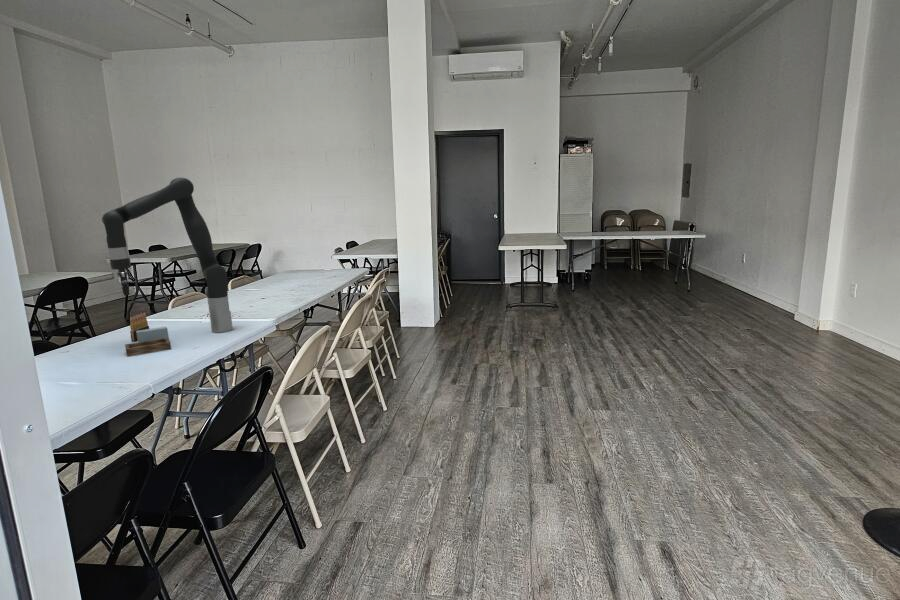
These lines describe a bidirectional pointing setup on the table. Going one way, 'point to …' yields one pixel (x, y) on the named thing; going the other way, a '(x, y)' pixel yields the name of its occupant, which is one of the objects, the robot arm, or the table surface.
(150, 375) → the table surface
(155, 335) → the long grey rectangular block
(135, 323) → the ammunition clip
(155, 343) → the cradle jig
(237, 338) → the table surface
